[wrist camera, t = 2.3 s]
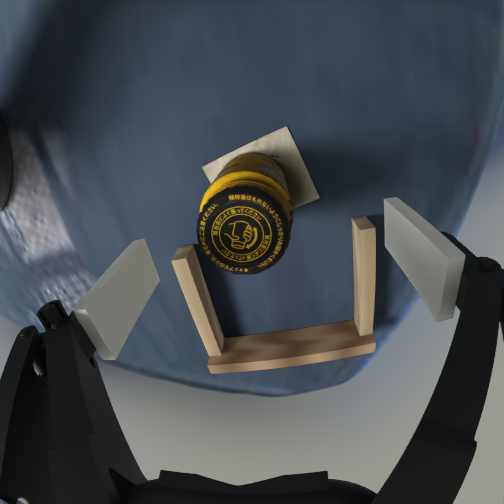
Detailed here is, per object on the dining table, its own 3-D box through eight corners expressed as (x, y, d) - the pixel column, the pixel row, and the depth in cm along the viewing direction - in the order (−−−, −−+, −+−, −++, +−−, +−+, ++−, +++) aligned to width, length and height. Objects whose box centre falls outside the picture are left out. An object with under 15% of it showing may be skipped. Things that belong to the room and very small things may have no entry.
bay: (216, 347, 36) (211, 373, 32) (179, 246, 30) (166, 268, 26) (365, 326, 34) (374, 351, 30) (365, 216, 27) (381, 234, 23)
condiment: (202, 167, 26) (158, 209, 15) (286, 126, 24) (304, 136, 13) (238, 232, 29) (223, 309, 18) (319, 197, 27) (353, 257, 16)
